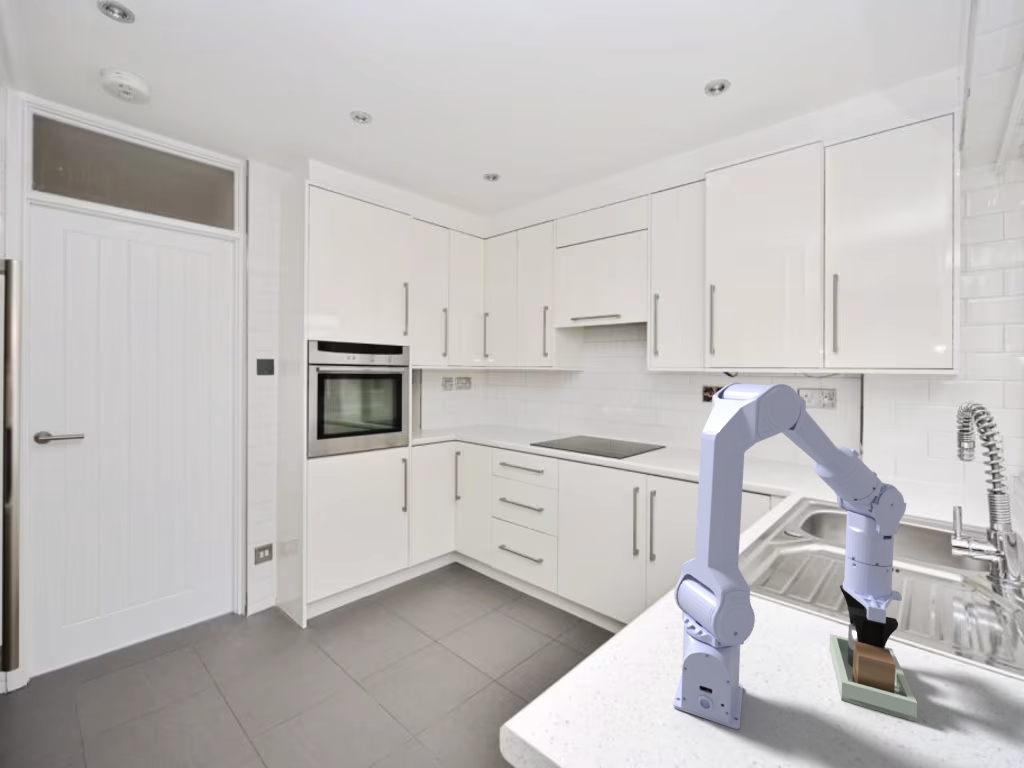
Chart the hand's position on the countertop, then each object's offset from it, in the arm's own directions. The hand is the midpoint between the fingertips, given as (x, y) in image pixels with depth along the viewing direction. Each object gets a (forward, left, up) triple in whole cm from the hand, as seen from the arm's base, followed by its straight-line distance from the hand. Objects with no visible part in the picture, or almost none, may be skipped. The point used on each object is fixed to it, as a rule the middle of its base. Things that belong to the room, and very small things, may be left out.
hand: (865, 647), depth 71 cm
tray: (-3, 0, -3) cm, 5 cm away
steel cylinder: (0, 0, -3) cm, 3 cm away
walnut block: (-7, 0, -3) cm, 7 cm away
